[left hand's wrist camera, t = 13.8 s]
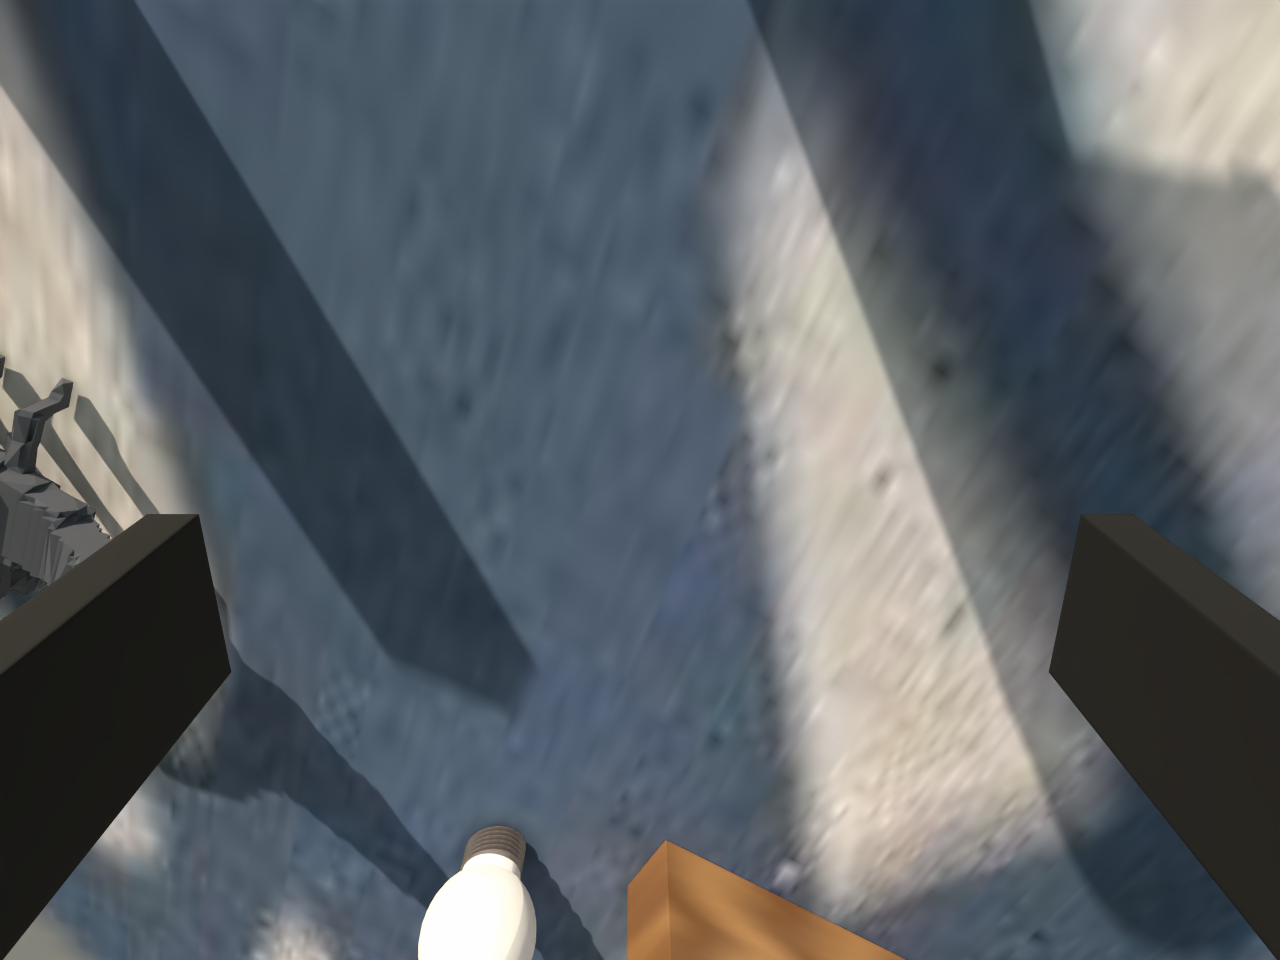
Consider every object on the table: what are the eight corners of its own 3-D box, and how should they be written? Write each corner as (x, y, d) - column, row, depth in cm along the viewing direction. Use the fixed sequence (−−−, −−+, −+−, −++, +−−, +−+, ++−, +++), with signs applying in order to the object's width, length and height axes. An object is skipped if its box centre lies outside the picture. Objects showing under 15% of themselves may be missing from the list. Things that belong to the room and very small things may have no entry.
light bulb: (501, 792, 54) (469, 941, 44) (568, 856, 56) (552, 1014, 46) (424, 842, 55) (375, 997, 45) (491, 903, 57) (459, 1066, 47)
